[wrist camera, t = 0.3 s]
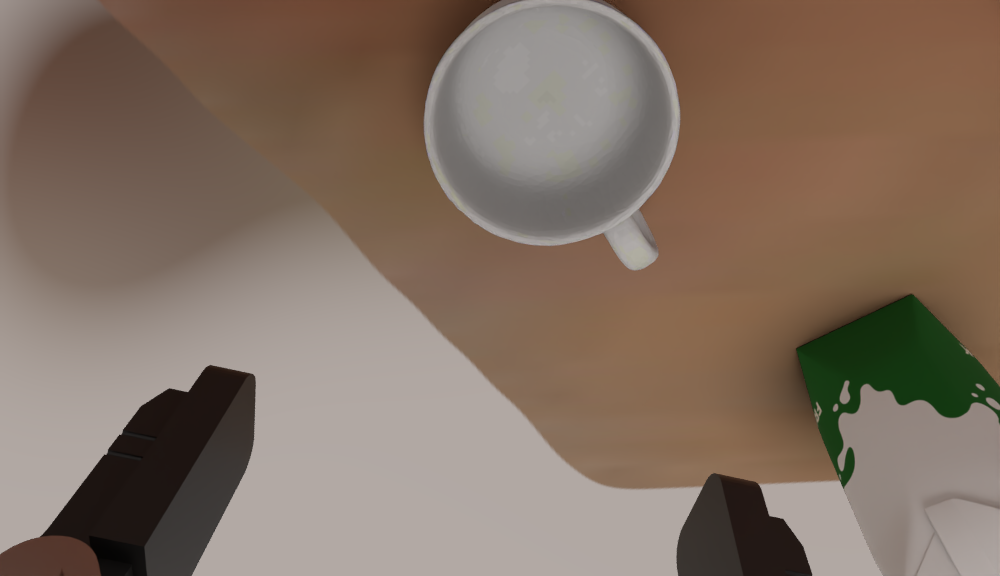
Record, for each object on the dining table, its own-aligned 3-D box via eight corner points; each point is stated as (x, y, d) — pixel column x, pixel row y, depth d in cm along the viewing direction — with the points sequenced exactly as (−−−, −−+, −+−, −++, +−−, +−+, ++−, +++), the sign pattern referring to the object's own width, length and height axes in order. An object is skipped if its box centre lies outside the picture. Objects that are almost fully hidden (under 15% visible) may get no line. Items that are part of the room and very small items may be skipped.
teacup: (412, 26, 36) (376, 67, 30) (618, -73, 33) (630, -52, 27) (523, 253, 43) (515, 330, 36) (706, 187, 40) (734, 258, 33)
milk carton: (976, 376, 44) (1230, 706, 27) (833, 436, 48) (979, 763, 31) (921, 273, 41) (1171, 575, 24) (772, 345, 44) (897, 654, 27)
